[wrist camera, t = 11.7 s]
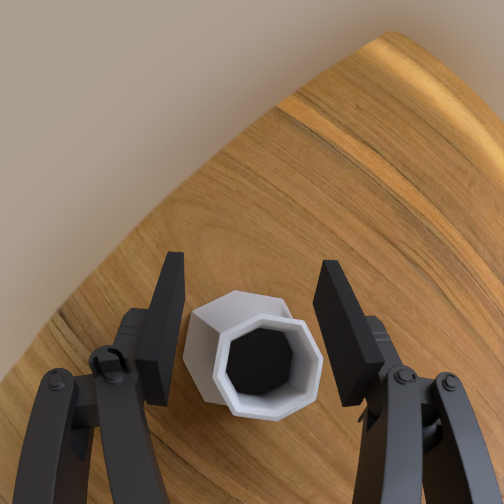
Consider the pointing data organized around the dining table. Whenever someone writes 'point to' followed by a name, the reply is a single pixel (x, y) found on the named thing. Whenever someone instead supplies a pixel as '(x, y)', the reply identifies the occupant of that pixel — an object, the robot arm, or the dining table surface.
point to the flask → (252, 356)
